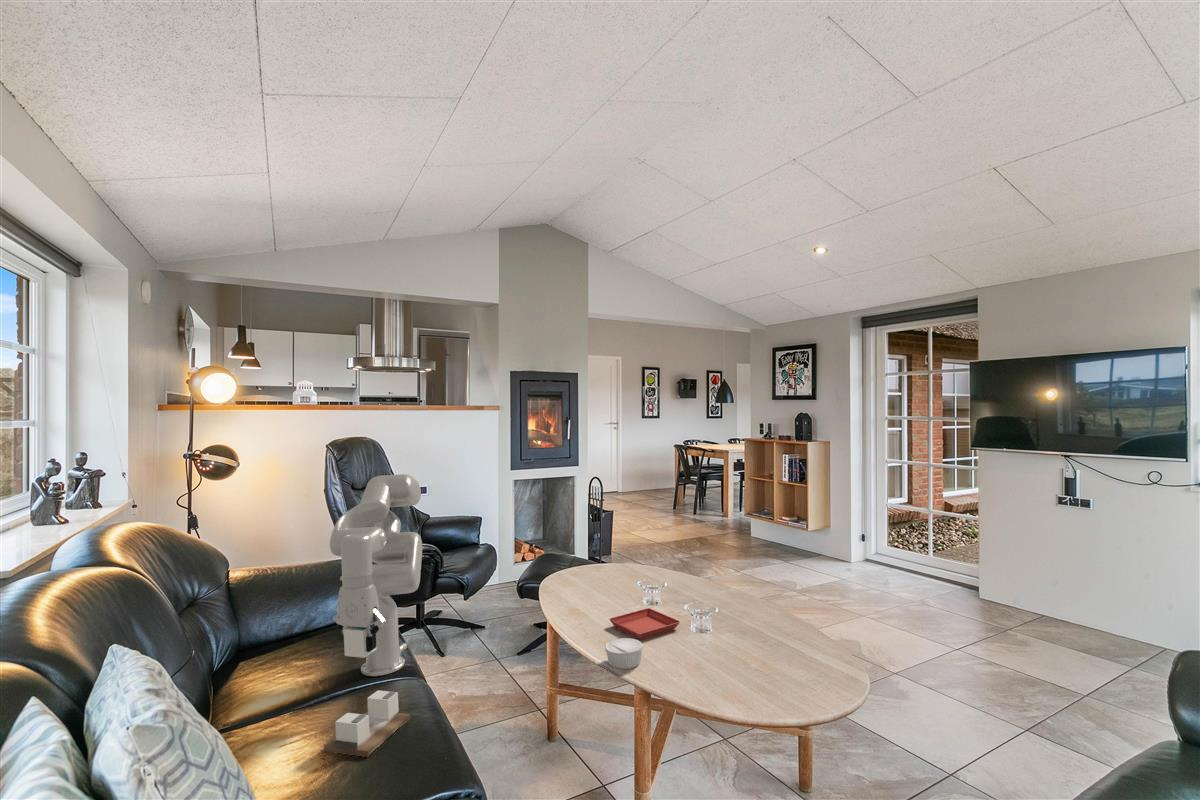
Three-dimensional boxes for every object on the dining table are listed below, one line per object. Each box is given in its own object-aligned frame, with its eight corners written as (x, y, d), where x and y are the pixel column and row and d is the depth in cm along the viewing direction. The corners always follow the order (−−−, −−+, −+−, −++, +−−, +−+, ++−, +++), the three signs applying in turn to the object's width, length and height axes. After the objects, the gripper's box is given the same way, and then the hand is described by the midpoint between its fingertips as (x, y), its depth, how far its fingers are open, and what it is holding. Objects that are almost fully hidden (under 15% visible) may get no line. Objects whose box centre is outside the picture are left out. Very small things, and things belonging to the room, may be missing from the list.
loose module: (357, 647, 154) (356, 621, 154) (376, 649, 152) (375, 622, 152) (344, 655, 149) (343, 628, 149) (363, 657, 148) (362, 630, 147)
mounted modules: (378, 709, 146) (377, 689, 146) (398, 711, 144) (397, 691, 144) (336, 742, 131) (335, 720, 131) (357, 745, 130) (357, 723, 130)
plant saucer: (649, 616, 210) (648, 607, 210) (681, 630, 194) (681, 620, 194) (608, 628, 200) (608, 618, 200) (639, 644, 185) (639, 634, 185)
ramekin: (600, 668, 168) (599, 650, 168) (613, 653, 178) (612, 636, 178) (636, 673, 164) (635, 655, 164) (647, 657, 174) (647, 639, 174)
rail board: (370, 715, 147) (369, 704, 147) (410, 720, 144) (410, 709, 144) (324, 751, 132) (323, 739, 132) (367, 758, 128) (367, 745, 128)
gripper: (320, 583, 150) (323, 652, 150) (376, 587, 145) (379, 657, 145) (340, 575, 157) (343, 640, 157) (394, 578, 152) (397, 645, 152)
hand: (360, 648), depth 151 cm, fingers closed on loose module, 6 cm apart
